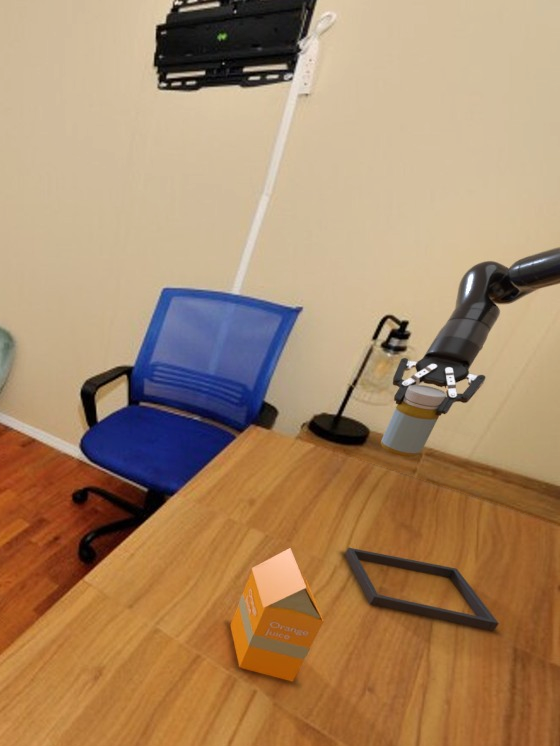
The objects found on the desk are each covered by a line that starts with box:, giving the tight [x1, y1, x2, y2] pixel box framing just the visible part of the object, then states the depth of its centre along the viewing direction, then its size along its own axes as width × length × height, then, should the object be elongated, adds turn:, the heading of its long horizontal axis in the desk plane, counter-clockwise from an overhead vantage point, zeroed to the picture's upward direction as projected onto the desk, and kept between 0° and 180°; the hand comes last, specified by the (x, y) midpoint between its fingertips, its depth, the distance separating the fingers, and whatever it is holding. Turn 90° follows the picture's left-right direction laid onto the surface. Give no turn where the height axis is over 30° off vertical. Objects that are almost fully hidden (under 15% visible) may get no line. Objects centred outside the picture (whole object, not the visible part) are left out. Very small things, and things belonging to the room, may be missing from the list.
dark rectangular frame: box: [344, 547, 499, 632], centre depth 96 cm, size 18×14×3 cm
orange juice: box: [230, 547, 325, 682], centre depth 81 cm, size 8×9×20 cm
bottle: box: [380, 384, 447, 458], centre depth 112 cm, size 7×7×15 cm
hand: (417, 408), depth 110 cm, fingers closed on bottle, 6 cm apart
